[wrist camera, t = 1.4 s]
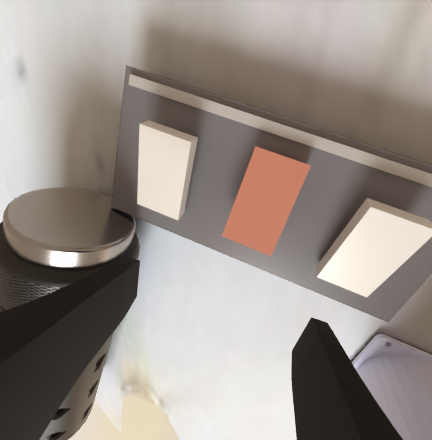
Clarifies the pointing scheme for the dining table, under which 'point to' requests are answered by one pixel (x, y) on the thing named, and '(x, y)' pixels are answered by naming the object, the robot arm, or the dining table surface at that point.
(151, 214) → the switch box
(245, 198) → the rocker middle
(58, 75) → the dining table surface
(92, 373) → the muzzle brake
